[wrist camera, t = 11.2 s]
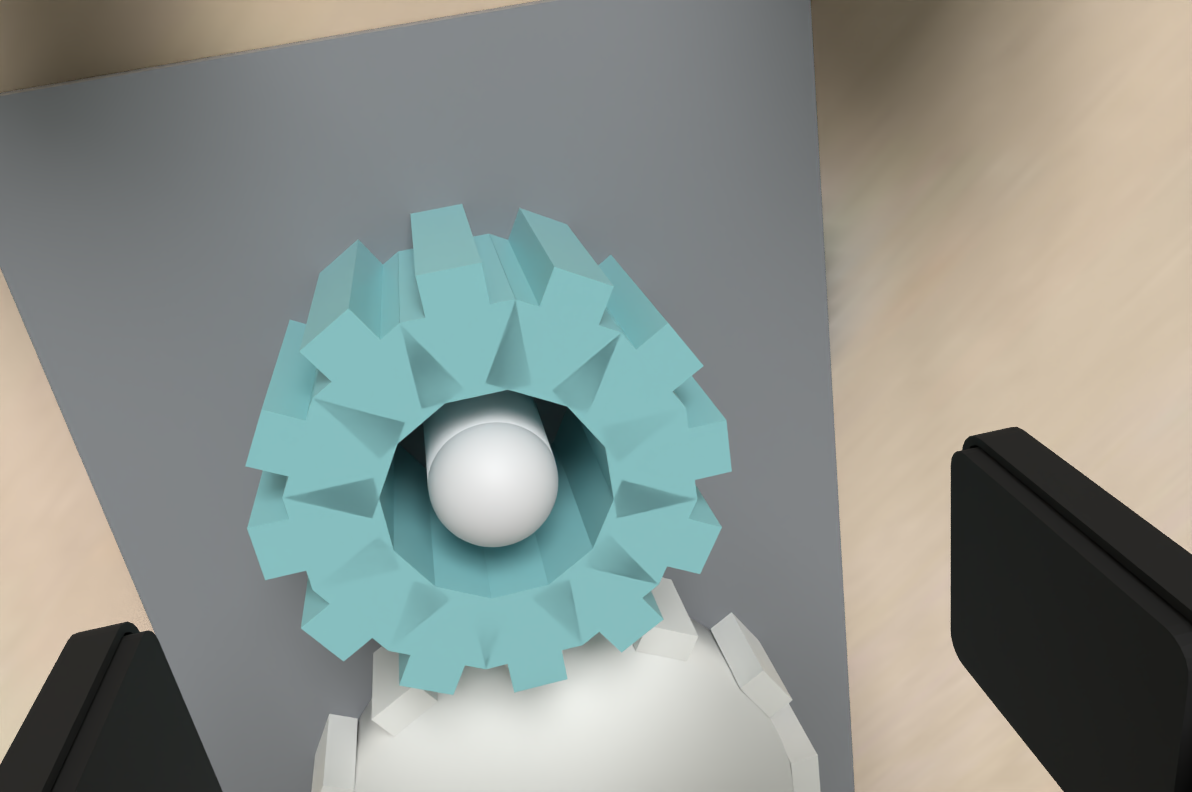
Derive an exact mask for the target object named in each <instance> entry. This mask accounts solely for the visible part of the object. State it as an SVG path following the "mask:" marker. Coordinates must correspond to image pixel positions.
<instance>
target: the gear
mask: <svg viewBox="0 0 1192 792" xmlns="http://www.w3.org/2000/svg"><path fill="white" fill-rule="evenodd" d="M410 215H411V228H412V240H413V249H408V250H403V251H398V252H397V253H396V254H395V255H393V256H392V257H391V258H390V259H389V260H388V261H387V262H385V263H384V264H382V263H381V262H380V261H379V260H378V259H377V258H376V257H375V256H374V255H373V254H372V253H371V252H370V251H369V250H368V249H367V248H366V247H365V246H364V245H363V244H362V243H361V242H360V241H359V239H358V240H357V241H355V242H354V243H353V244H352V245H351V246H350V247H349V248H348V249H346V250H345V251H344V252H343V253H342V254H341V255H340V256H338V257H337V258H336V259H335V260H334V261H333V262H332V263H331V264H329V265H328V266H327V267H326V268H325V269H324V270H323V271H321V272H320V273H319V277H318V281H317V285H316V289H315V292H314V296H313V300H312V304H311V308H310V312H309V315H308V319H307V323H306V324H304V323H300V322H297V321H293V320H290V321H289V324H288V327H287V330H286V333H285V336H284V340H283V343H282V346H281V349H280V352H279V356H278V359H277V362H276V365H275V368H274V371H273V375H272V378H271V381H270V384H269V387H268V391H267V394H266V397H265V400H264V403H263V406H262V410H261V413H260V417H259V420H258V424H257V427H256V431H255V434H254V438H253V441H252V444H251V448H250V451H249V455H248V458H247V462H246V465H245V466H246V467H251V468H255V469H259V470H263V472H262V475H261V479H260V483H259V486H258V490H257V494H256V497H255V501H254V505H253V508H252V512H251V516H250V520H249V523H248V527H247V530H248V533H249V536H250V538H251V541H252V544H253V547H254V550H255V553H256V555H257V558H258V561H259V564H260V567H261V570H262V572H263V575H264V578H265V580H268V579H272V578H277V577H281V576H285V575H290V574H294V573H298V572H303V571H306V572H307V575H308V581H307V588H306V595H305V602H304V609H303V616H302V623H301V629H302V630H304V631H305V632H306V633H307V634H309V635H310V636H311V637H313V638H314V639H315V640H316V641H318V642H319V643H320V644H322V645H323V646H324V647H325V648H327V649H328V650H329V651H331V652H332V653H333V654H335V655H336V656H337V657H338V658H340V659H341V660H342V661H345V660H346V659H347V658H348V657H350V656H351V655H352V654H353V653H355V652H356V651H357V650H358V649H359V648H361V647H362V646H363V645H364V644H366V643H367V642H368V641H369V640H370V639H372V638H373V639H374V640H375V641H377V642H378V643H379V644H380V645H382V646H383V647H384V648H385V649H387V650H389V651H391V652H397V653H399V686H405V687H410V688H416V689H422V690H427V691H433V692H439V693H444V694H450V695H454V692H455V690H456V687H457V685H458V682H459V679H460V677H461V674H462V672H463V669H464V667H465V665H466V666H471V667H476V668H482V669H489V668H493V667H497V666H501V665H505V664H508V668H509V672H510V677H511V681H512V685H513V689H514V693H515V692H519V691H523V690H527V689H531V688H535V687H539V686H543V685H546V684H550V683H554V682H558V681H562V680H566V679H567V674H566V669H565V664H564V659H563V654H562V650H565V649H569V648H573V647H577V646H581V645H584V644H585V643H586V642H587V641H589V640H590V639H591V638H592V637H594V636H595V635H596V634H597V633H599V632H600V633H601V634H602V635H603V636H604V637H605V638H606V639H608V640H609V641H610V642H611V643H612V644H613V645H614V646H615V647H616V648H617V649H618V650H619V651H620V652H621V653H622V652H623V651H624V650H626V649H627V648H628V647H629V646H631V645H632V644H633V643H634V642H636V641H637V640H638V639H639V638H641V637H642V636H643V635H645V634H646V633H647V632H648V631H650V630H651V629H652V628H653V627H655V626H656V625H657V624H658V623H660V622H661V621H662V620H664V619H663V617H662V615H661V612H660V610H659V608H658V605H657V603H656V601H655V598H654V596H653V594H652V591H651V590H653V589H654V588H655V587H656V586H658V585H659V583H660V581H661V579H662V576H663V574H664V572H665V570H666V568H667V566H668V567H672V568H676V569H680V570H685V571H689V572H693V573H697V574H700V573H701V571H702V569H703V567H704V565H705V563H706V560H707V558H708V556H709V554H710V552H711V550H712V548H713V545H714V543H715V541H716V539H717V537H718V535H719V533H720V530H721V528H722V527H721V525H720V523H719V522H718V520H717V518H716V517H715V515H714V514H713V512H712V510H711V509H710V507H709V505H708V504H707V502H706V501H705V499H704V497H703V496H702V494H701V493H700V491H699V489H698V488H697V486H696V484H695V480H697V479H702V478H706V477H710V476H714V475H719V474H723V473H727V472H732V468H731V459H730V449H729V440H728V430H727V421H726V419H725V418H724V416H723V415H722V414H721V412H720V411H719V410H718V409H717V407H716V406H715V405H714V404H713V402H712V401H711V400H710V398H709V397H708V396H707V395H706V393H705V392H704V391H703V389H702V388H701V387H700V386H699V384H698V383H697V382H696V381H695V379H694V378H693V377H692V375H693V374H694V373H696V372H697V371H698V370H699V369H701V368H702V367H703V364H702V363H701V362H700V361H699V360H698V358H697V357H696V356H695V355H694V354H693V352H692V351H691V350H690V349H689V347H688V346H687V345H686V344H685V343H684V341H683V340H682V339H681V338H680V337H679V335H678V334H677V333H676V332H675V331H674V329H673V328H672V327H671V326H670V325H669V323H668V322H667V321H666V320H665V319H664V317H663V316H662V315H661V314H660V313H659V311H658V310H657V309H656V308H655V307H654V305H653V304H652V303H651V302H650V301H649V299H648V298H647V297H646V296H645V295H644V293H643V292H642V291H641V290H640V289H639V287H638V286H637V285H636V284H635V283H634V282H633V280H632V279H631V278H630V277H629V276H628V274H627V273H626V272H625V271H624V270H623V268H622V267H621V266H620V265H619V264H618V262H617V261H616V260H615V259H614V258H613V256H612V255H610V256H609V257H607V258H606V259H605V260H604V261H603V262H602V263H600V264H599V265H597V263H596V262H595V261H594V259H593V258H592V257H591V255H590V254H589V253H588V251H587V250H586V249H585V247H584V246H583V245H582V244H581V242H580V241H579V240H578V238H577V237H576V236H575V234H574V233H573V232H572V230H571V229H570V228H569V226H568V225H567V224H565V223H562V222H559V221H556V220H553V219H550V218H547V217H544V216H542V215H539V214H536V213H533V212H530V211H527V210H524V209H521V208H519V210H518V213H517V216H516V219H515V222H514V224H513V227H512V230H511V233H510V236H509V239H508V240H507V239H504V238H501V237H498V236H495V235H492V234H484V235H479V236H474V237H473V235H472V232H471V229H470V226H469V223H468V220H467V217H466V214H465V211H464V208H463V205H462V204H458V205H453V206H448V207H443V208H438V209H432V210H427V211H422V212H417V213H412V214H410ZM505 390H511V391H515V392H518V393H522V394H525V395H529V396H532V397H536V398H539V399H543V400H546V401H550V402H553V403H557V404H560V405H564V406H567V409H566V412H565V414H564V417H563V419H562V422H561V424H560V427H559V430H558V432H557V435H556V437H555V440H554V442H552V443H551V444H550V447H551V450H552V453H553V456H554V459H555V462H556V466H557V470H558V492H557V498H556V501H555V504H554V506H553V509H552V511H551V513H550V515H549V516H548V518H547V519H546V521H545V522H544V523H543V524H542V525H541V526H540V527H539V528H538V529H537V530H536V531H535V532H534V533H533V534H531V535H530V536H529V537H527V538H525V539H523V540H522V541H519V542H517V543H514V544H511V545H508V546H502V547H483V546H478V545H474V544H471V543H469V542H466V541H464V540H462V539H460V538H458V537H457V536H455V535H454V534H453V533H451V532H450V531H449V530H448V529H447V528H446V527H445V526H444V525H443V524H442V522H441V521H440V520H439V518H438V517H437V515H436V513H435V511H434V509H433V507H432V504H431V501H430V497H429V491H428V481H427V469H426V468H425V467H423V466H422V465H421V464H420V463H419V462H418V461H417V460H416V459H415V458H414V457H413V456H412V455H411V454H410V453H408V452H407V451H406V450H405V449H404V448H403V447H402V446H401V445H400V444H399V442H400V441H401V440H403V439H404V438H405V437H406V436H407V435H408V434H410V433H411V432H412V431H413V430H414V429H416V428H417V427H418V426H419V425H420V424H421V423H423V422H424V421H425V420H426V419H427V418H429V417H430V416H431V415H432V414H433V413H434V412H436V411H437V410H438V409H439V408H440V407H442V406H443V405H444V404H445V403H449V402H454V401H458V400H463V399H468V398H472V397H477V396H481V395H486V394H491V393H495V392H500V391H505Z"/></svg>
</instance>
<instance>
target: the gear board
mask: <svg viewBox="0 0 1192 792" xmlns="http://www.w3.org/2000/svg"><path fill="white" fill-rule="evenodd" d="M458 204H462V205H463V208H464V211H465V214H466V217H467V220H468V223H469V226H470V229H471V232H472V235H473V237H474V236H479V235H484V234H492V235H495V236H498V237H501V238H504V239H507V240H508V239H509V236H510V233H511V230H512V227H513V224H514V222H515V219H516V216H517V213H518V210H519V208H521V209H524V210H527V211H530V212H533V213H536V214H539V215H542V216H544V217H547V218H550V219H553V220H556V221H559V222H562V223H565V224H567V225H568V226H569V228H570V229H571V230H572V232H573V233H574V234H575V236H576V237H577V238H578V240H579V241H580V242H581V244H582V245H583V246H584V247H585V249H586V250H587V251H588V253H589V254H590V255H591V257H592V258H593V259H594V261H595V262H596V263H597V265H599V264H600V263H602V262H603V261H604V260H605V259H606V258H607V257H609V256H610V255H612V256H613V258H614V259H615V260H616V261H617V262H618V264H619V265H620V266H621V267H622V268H623V270H624V271H625V272H626V273H627V274H628V276H629V277H630V278H631V279H632V280H633V282H634V283H635V284H636V285H637V286H638V287H639V289H640V290H641V291H642V292H643V293H644V295H645V296H646V297H647V298H648V299H649V301H650V302H651V303H652V304H653V305H654V307H655V308H656V309H657V310H658V311H659V313H660V314H661V315H662V316H663V317H664V319H665V320H666V321H667V322H668V323H669V325H670V326H671V327H672V328H673V329H674V331H675V332H676V333H677V334H678V335H679V337H680V338H681V339H682V340H683V341H684V343H685V344H686V345H687V346H688V347H689V349H690V350H691V351H692V352H693V354H694V355H695V356H696V357H697V358H698V360H699V361H700V362H701V363H702V364H703V367H702V368H701V369H699V370H698V371H697V372H696V373H694V374H693V375H692V377H693V378H694V379H695V381H696V382H697V383H698V384H699V386H700V387H701V388H702V389H703V391H704V392H705V393H706V395H707V396H708V397H709V398H710V400H711V401H712V402H713V404H714V405H715V406H716V407H717V409H718V410H719V411H720V412H721V414H722V415H723V416H724V418H725V419H726V421H727V430H728V440H729V449H730V459H731V468H732V472H727V473H723V474H719V475H714V476H710V477H706V478H702V479H697V480H695V484H696V486H697V488H698V489H699V491H700V493H701V494H702V496H703V497H704V499H705V501H706V502H707V504H708V505H709V507H710V509H711V510H712V512H713V514H714V515H715V517H716V518H717V520H718V522H719V523H720V525H721V527H722V528H721V530H720V533H719V535H718V537H717V539H716V541H715V543H714V545H713V548H712V550H711V552H710V554H709V556H708V558H707V560H706V563H705V565H704V567H703V569H702V571H701V573H700V574H697V573H693V572H689V571H685V570H680V569H676V568H672V567H668V566H667V568H666V570H665V572H664V574H663V576H662V579H661V581H660V583H659V585H658V586H656V587H655V588H654V589H653V590H651V591H652V594H653V596H654V598H655V601H656V603H657V605H658V608H659V610H660V612H661V615H662V617H663V619H664V620H662V621H661V622H660V623H658V624H657V625H656V626H655V627H653V628H652V629H651V630H650V631H648V632H647V633H646V634H645V635H643V636H642V637H641V638H639V639H638V640H637V641H636V642H634V643H633V644H632V645H631V646H629V647H628V648H627V649H626V650H624V651H623V652H622V653H621V652H620V651H619V650H618V649H617V648H616V647H615V646H614V645H613V644H612V643H611V642H610V641H609V640H608V639H606V638H605V637H604V636H603V635H602V634H601V633H600V632H599V633H597V634H596V635H595V636H594V637H592V638H591V639H590V640H589V641H587V642H586V643H585V644H584V645H581V646H577V647H573V648H569V649H565V650H562V654H563V659H564V664H565V669H566V674H567V679H566V680H562V681H558V682H554V683H550V684H546V685H543V686H539V687H535V688H531V689H527V690H523V691H519V692H515V693H514V689H513V685H512V681H511V677H510V672H509V668H508V664H505V665H501V666H497V667H493V668H489V669H482V668H476V667H471V666H466V665H465V667H464V669H463V672H462V674H461V677H460V679H459V682H458V685H457V687H456V690H455V692H454V695H450V694H444V693H439V692H433V691H427V690H422V689H416V688H410V687H405V686H399V653H397V652H391V651H389V650H387V649H385V648H384V647H383V646H382V645H380V644H379V643H378V642H377V641H375V640H374V639H373V638H372V639H370V640H369V641H368V642H367V643H366V644H364V645H363V646H362V647H361V648H359V649H358V650H357V651H356V652H355V653H353V654H352V655H351V656H350V657H348V658H347V659H346V660H345V661H342V660H341V659H340V658H338V657H337V656H336V655H335V654H333V653H332V652H331V651H329V650H328V649H327V648H325V647H324V646H323V645H322V644H320V643H319V642H318V641H316V640H315V639H314V638H313V637H311V636H310V635H309V634H307V633H306V632H305V631H304V630H302V629H301V623H302V616H303V609H304V602H305V595H306V588H307V581H308V575H307V572H306V571H303V572H298V573H294V574H290V575H285V576H281V577H277V578H272V579H268V580H265V578H264V575H263V572H262V570H261V567H260V564H259V561H258V558H257V555H256V553H255V550H254V547H253V544H252V541H251V538H250V536H249V533H248V530H247V527H248V523H249V520H250V516H251V512H252V508H253V505H254V501H255V497H256V494H257V490H258V486H259V483H260V479H261V475H262V472H263V470H259V469H255V468H251V467H246V466H245V465H246V462H247V458H248V455H249V451H250V448H251V444H252V441H253V438H254V434H255V431H256V427H257V424H258V420H259V417H260V413H261V410H262V406H263V403H264V400H265V397H266V394H267V391H268V387H269V384H270V381H271V378H272V375H273V371H274V368H275V365H276V362H277V359H278V356H279V352H280V349H281V346H282V343H283V340H284V336H285V333H286V330H287V327H288V324H289V321H290V320H293V321H297V322H300V323H304V324H306V323H307V319H308V315H309V312H310V308H311V304H312V300H313V296H314V292H315V289H316V285H317V281H318V277H319V273H320V272H321V271H323V270H324V269H325V268H326V267H327V266H328V265H329V264H331V263H332V262H333V261H334V260H335V259H336V258H337V257H338V256H340V255H341V254H342V253H343V252H344V251H345V250H346V249H348V248H349V247H350V246H351V245H352V244H353V243H354V242H355V241H357V240H358V239H359V241H360V242H361V243H362V244H363V245H364V246H365V247H366V248H367V249H368V250H369V251H370V252H371V253H372V254H373V255H374V256H375V257H376V258H377V259H378V260H379V261H380V262H381V263H382V264H384V263H385V262H387V261H388V260H389V259H390V258H391V257H392V256H393V255H395V254H396V253H397V252H398V251H403V250H408V249H413V240H412V228H411V215H410V214H412V213H417V212H422V211H427V210H432V209H438V208H443V207H448V206H453V205H458ZM0 268H1V270H2V273H3V275H4V277H5V280H6V282H7V285H8V287H9V289H10V292H11V294H12V296H13V299H14V301H15V303H16V306H17V308H18V311H19V313H20V315H21V318H22V320H23V322H24V325H25V327H26V329H27V332H28V334H29V337H30V339H31V341H32V344H33V346H34V348H35V351H36V353H37V355H38V358H39V360H40V363H41V365H42V367H43V370H44V372H45V374H46V377H47V379H48V381H49V384H50V386H51V389H52V391H53V393H54V396H55V398H56V400H57V403H58V405H59V407H60V410H61V412H62V415H63V417H64V419H65V422H66V424H67V426H68V429H69V431H70V433H71V436H72V438H73V441H74V443H75V445H76V448H77V450H78V452H79V455H80V457H81V459H82V462H83V464H84V467H85V469H86V471H87V474H88V476H89V478H90V481H91V483H92V485H93V488H94V490H95V493H96V495H97V497H98V500H99V502H100V504H101V507H102V509H103V511H104V514H105V516H106V519H107V521H108V523H109V526H110V528H111V530H112V533H113V535H114V537H115V540H116V542H117V545H118V547H119V549H120V552H121V554H122V556H123V559H124V561H125V563H126V566H127V568H128V571H129V573H130V575H131V578H132V580H133V582H134V585H135V587H136V590H137V592H138V594H139V597H140V599H141V601H142V604H143V606H144V608H145V611H146V613H147V616H148V618H149V620H150V623H151V625H152V627H153V630H154V632H155V634H156V637H157V638H158V640H159V642H160V645H161V647H162V649H163V652H164V654H165V656H166V659H167V661H168V664H169V666H170V668H171V671H172V673H173V675H174V678H175V680H176V682H177V685H178V687H179V689H180V692H181V694H182V697H183V699H184V701H185V704H186V706H187V708H188V711H189V713H190V715H191V718H192V720H193V723H194V725H195V727H196V730H197V732H198V734H199V737H200V739H201V741H202V744H203V746H204V749H205V751H206V753H207V756H208V758H209V760H210V763H211V765H212V767H213V770H214V772H215V775H216V777H217V779H218V782H219V784H220V786H221V789H222V791H223V792H855V791H854V773H853V755H852V737H851V719H850V701H849V683H848V665H847V647H846V629H845V611H844V593H843V575H842V557H841V539H840V521H839V503H838V485H837V467H836V449H835V431H834V413H833V395H832V377H831V359H830V341H829V323H828V305H827V287H826V269H825V251H824V233H823V215H822V197H821V179H820V161H819V143H818V125H817V107H816V89H815V71H814V53H813V35H812V17H811V0H540V1H534V2H529V3H523V4H517V5H511V6H505V7H499V8H494V9H488V10H482V11H476V12H470V13H464V14H459V15H453V16H447V17H441V18H435V19H429V20H424V21H418V22H412V23H406V24H400V25H394V26H388V27H383V28H377V29H371V30H365V31H359V32H353V33H348V34H342V35H336V36H330V37H324V38H318V39H313V40H307V41H301V42H295V43H289V44H283V45H278V46H272V47H266V48H260V49H254V50H248V51H242V52H237V53H231V54H225V55H219V56H213V57H207V58H202V59H196V60H190V61H184V62H178V63H172V64H167V65H161V66H155V67H149V68H143V69H137V70H131V71H126V72H120V73H114V74H108V75H102V76H96V77H91V78H85V79H79V80H73V81H67V82H61V83H56V84H50V85H44V86H38V87H32V88H26V89H21V90H15V91H9V92H3V93H0ZM566 409H567V406H564V405H560V404H557V403H553V402H550V401H546V400H543V399H539V398H536V397H532V396H529V395H525V394H522V393H518V392H515V391H511V390H505V391H500V392H495V393H491V394H486V395H481V396H477V397H472V398H468V399H463V400H458V401H454V402H449V403H445V404H444V405H443V406H442V407H440V408H439V409H438V410H437V411H436V412H434V413H433V414H432V415H431V416H430V417H429V418H427V419H426V420H425V421H424V422H423V423H421V424H420V425H419V426H418V427H417V428H416V429H414V430H413V431H412V432H411V433H410V434H408V435H407V436H406V437H405V438H404V439H403V440H401V441H400V442H399V444H400V445H401V446H402V447H403V448H404V449H405V450H406V451H407V452H408V453H410V454H411V455H412V456H413V457H414V458H415V459H416V460H417V461H418V462H419V463H420V464H421V465H422V466H423V467H425V468H426V469H427V481H428V491H429V497H430V501H431V504H432V507H433V509H434V511H435V513H436V515H437V517H438V518H439V520H440V521H441V522H442V524H443V525H444V526H445V527H446V528H447V529H448V530H449V531H450V532H451V533H453V534H454V535H455V536H457V537H458V538H460V539H462V540H464V541H466V542H469V543H471V544H474V545H478V546H483V547H502V546H508V545H511V544H514V543H517V542H519V541H522V540H523V539H525V538H527V537H529V536H530V535H531V534H533V533H534V532H535V531H536V530H537V529H538V528H539V527H540V526H541V525H542V524H543V523H544V522H545V521H546V519H547V518H548V516H549V515H550V513H551V511H552V509H553V506H554V504H555V501H556V498H557V492H558V470H557V466H556V462H555V459H554V456H553V453H552V450H551V447H550V444H551V443H552V442H554V440H555V437H556V435H557V432H558V430H559V427H560V424H561V422H562V419H563V417H564V414H565V412H566Z"/></svg>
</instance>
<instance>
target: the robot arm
mask: <svg viewBox="0 0 1192 792" xmlns="http://www.w3.org/2000/svg"><path fill="white" fill-rule="evenodd" d="M951 638H952V642H953V646H954V649H955V652H956V654H957V656H958V658H959V660H960V661H961V663H962V664H963V666H964V667H965V668H966V669H967V671H968V672H969V673H970V674H971V676H972V677H973V678H974V679H975V681H976V682H977V683H978V684H979V686H980V687H981V688H982V689H983V691H984V692H985V693H986V694H987V696H988V697H989V698H990V699H991V701H992V702H993V703H994V705H995V706H996V707H997V708H998V710H999V711H1000V712H1001V713H1002V715H1003V716H1004V717H1005V718H1006V720H1007V721H1008V722H1009V723H1010V725H1011V726H1012V727H1013V728H1014V730H1015V731H1016V732H1017V733H1018V735H1019V736H1020V737H1021V738H1022V740H1023V741H1024V742H1025V743H1026V745H1027V746H1028V747H1029V748H1030V750H1031V751H1032V752H1033V754H1034V755H1035V756H1036V757H1037V759H1038V760H1039V761H1040V762H1041V764H1042V765H1043V766H1044V767H1045V769H1046V770H1047V771H1048V772H1049V774H1050V775H1051V776H1052V777H1053V779H1054V780H1055V781H1056V782H1057V784H1058V785H1059V786H1060V787H1061V789H1062V790H1063V791H1064V792H1192V554H1190V553H1189V552H1188V551H1186V550H1185V549H1184V548H1182V547H1181V546H1180V545H1178V544H1177V543H1176V542H1174V541H1173V540H1171V539H1170V538H1169V537H1167V536H1166V535H1165V534H1163V533H1162V532H1161V531H1159V530H1158V529H1157V528H1155V527H1154V526H1152V525H1151V524H1150V523H1148V522H1147V521H1146V520H1144V519H1143V518H1142V517H1140V516H1139V515H1138V514H1136V513H1135V512H1134V511H1132V510H1131V509H1129V508H1128V507H1127V506H1125V505H1124V504H1123V503H1121V502H1120V501H1119V500H1117V499H1116V498H1115V497H1113V496H1112V495H1111V494H1109V493H1108V492H1106V491H1105V490H1104V489H1102V488H1101V487H1100V486H1098V485H1097V484H1096V483H1094V482H1093V481H1092V480H1090V479H1089V478H1087V477H1086V476H1085V475H1083V474H1082V473H1081V472H1079V471H1078V470H1077V469H1075V468H1074V467H1073V466H1071V465H1070V464H1069V463H1067V462H1066V461H1064V460H1063V459H1062V458H1060V457H1059V456H1058V455H1056V454H1055V453H1054V452H1052V451H1051V450H1050V449H1048V448H1047V447H1046V446H1044V445H1043V444H1041V443H1040V442H1039V441H1037V440H1036V439H1035V438H1033V437H1032V436H1031V435H1029V434H1028V433H1027V432H1025V431H1024V430H1022V429H1020V428H1018V427H1010V428H1006V429H1001V430H997V431H992V432H987V433H983V434H978V435H974V436H969V437H968V438H967V439H966V440H965V442H964V445H963V449H962V451H957V452H956V453H954V454H953V457H952V460H951ZM0 792H223V791H222V789H221V786H220V784H219V782H218V779H217V777H216V775H215V772H214V770H213V767H212V765H211V763H210V760H209V758H208V756H207V753H206V751H205V749H204V746H203V744H202V741H201V739H200V737H199V734H198V732H197V730H196V727H195V725H194V723H193V720H192V718H191V715H190V713H189V711H188V708H187V706H186V704H185V701H184V699H183V697H182V694H181V692H180V689H179V687H178V685H177V682H176V680H175V678H174V675H173V673H172V671H171V668H170V666H169V664H168V661H167V659H166V656H165V654H164V652H163V649H162V647H161V645H160V642H159V640H158V638H157V637H156V635H155V634H154V633H153V632H152V631H144V632H139V630H138V628H137V627H136V626H135V625H134V624H133V623H130V622H124V623H120V624H115V625H110V626H106V627H101V628H97V629H92V630H88V631H83V632H79V633H76V634H73V635H72V636H71V637H70V639H69V640H68V641H67V643H66V645H65V647H64V649H63V650H62V652H61V654H60V656H59V658H58V660H57V662H56V663H55V665H54V667H53V669H52V671H51V673H50V674H49V676H48V678H47V680H46V682H45V684H44V685H43V687H42V689H41V691H40V693H39V695H38V696H37V698H36V700H35V702H34V704H33V706H32V707H31V709H30V711H29V713H28V715H27V717H26V718H25V720H24V722H23V724H22V726H21V728H20V730H19V731H18V733H17V735H16V737H15V739H14V741H13V742H12V744H11V746H10V748H9V750H8V752H7V753H6V755H5V757H4V759H3V761H2V763H1V764H0Z"/></svg>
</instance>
